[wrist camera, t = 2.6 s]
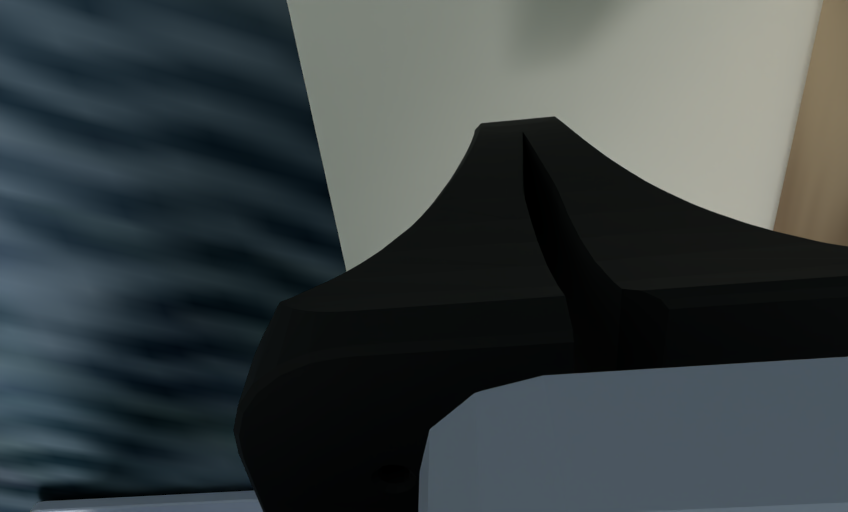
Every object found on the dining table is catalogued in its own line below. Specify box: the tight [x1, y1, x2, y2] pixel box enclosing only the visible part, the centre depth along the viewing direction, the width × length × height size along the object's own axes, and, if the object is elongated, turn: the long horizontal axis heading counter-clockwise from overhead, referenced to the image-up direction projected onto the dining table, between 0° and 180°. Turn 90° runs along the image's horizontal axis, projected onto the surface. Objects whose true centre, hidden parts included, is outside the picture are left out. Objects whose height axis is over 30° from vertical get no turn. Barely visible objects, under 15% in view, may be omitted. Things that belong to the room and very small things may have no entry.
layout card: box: [287, 0, 823, 271], centre depth 18 cm, size 26×24×1 cm
